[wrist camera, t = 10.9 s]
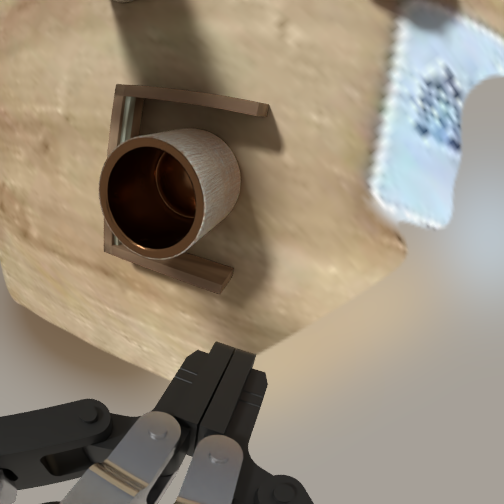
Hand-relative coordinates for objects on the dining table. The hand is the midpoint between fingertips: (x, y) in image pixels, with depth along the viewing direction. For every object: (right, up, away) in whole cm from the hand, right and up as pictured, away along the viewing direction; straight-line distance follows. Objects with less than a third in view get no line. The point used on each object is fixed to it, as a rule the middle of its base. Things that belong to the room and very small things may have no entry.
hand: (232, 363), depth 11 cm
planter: (-5, +12, +23) cm, 26 cm away
